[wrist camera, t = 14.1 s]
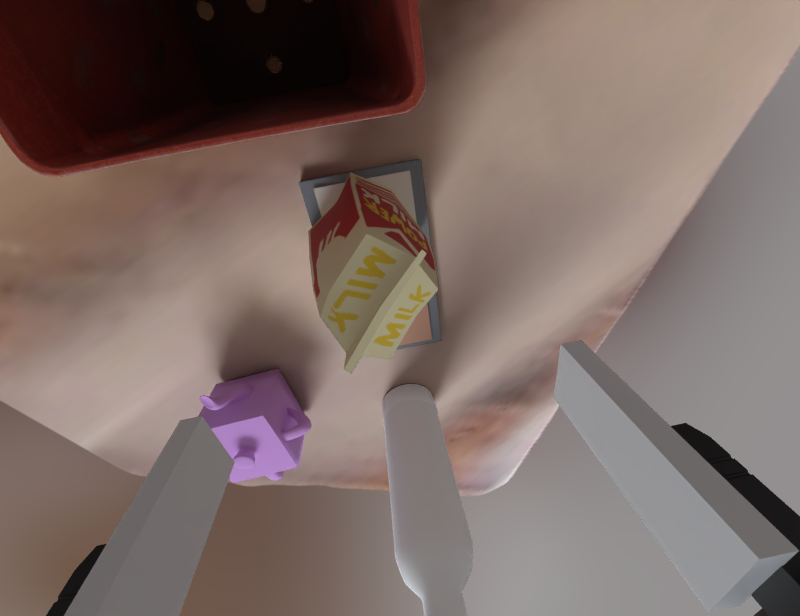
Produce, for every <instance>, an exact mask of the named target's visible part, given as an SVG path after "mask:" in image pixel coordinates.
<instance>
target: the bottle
mask: <svg viewBox="0 0 800 616" xmlns="http://www.w3.org/2000/svg"><path fill="white" fill-rule="evenodd" d="M383 424H384V429H385V441H386V453H387V465H388V477H389V489H390V501H391V511H392V512H391V513H392V525H393V536H394V548H395V559H396V562H397V564H398V567H399V570H400V573H401V575H402V578H403V580H404V582H405V584H406V585H407V586H408V587H409V588H410V589H411V590H412V591H413V592H414V593H415V594H416V595H417V596H419V597H420V598H421V599H422V602H423V610H424V616H467V613H466V608H465V604H464V599H463V595H462V591H463V589H464V587H465V584H466V582H467V580H468V578H469V576H470V574H471V571H472V557H473V555H472V554H473V549H472V539H471V535H470V531H469V528H468V524H467V520H466V517H465V513H464V509H463V506H462V502H461V498H460V495H459V491H458V487H457V484H456V480H455V476H454V473H453V469H452V465H451V462H450V458H449V454H448V451H447V447H446V443H445V440H444V436H443V432H442V429H441V425H440V421H439V418H438V411H437V407H436V404H435V402H434V399H433V396H432V394H431V392H430V391H429V390H428V389H427V388H426V387H423V386H421V385H418V384H405V385H400V386H398V387H396V388H394V389H392V390H391V391H389V392H388V393H387V394H386V395H385V398H384V400H383Z"/></svg>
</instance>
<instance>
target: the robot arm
mask: <svg viewBox="0 0 800 616" xmlns="http://www.w3.org/2000/svg"><path fill="white" fill-rule="evenodd" d="M554 398H555V400H556V401H557V403H558V404H559V405H560V407H561V408H562V409H563V411H564V412H565V414H566V415H567V417H568V418H569V419H570V421H571V422H572V424H573V425H574V426H575V428H576V429H577V430H578V432H579V433H580V435H581V436H582V437H583V439H584V440H585V441H586V443H587V444H588V446H589V447H590V448H591V450H592V451H593V453H594V454H595V455H596V457H597V458H598V460H599V461H600V462H601V464H602V465H603V467H604V468H605V469H606V471H607V472H608V474H609V475H610V476H611V478H612V479H613V480H614V482H615V483H616V485H617V486H618V488H619V489H620V490H621V491H622V493H623V494H624V496H625V497H626V499H627V500H628V501H629V503H630V504H631V505H632V507H633V508H634V510H635V511H636V513H637V514H638V515H639V517H640V518H641V520H642V521H643V522H644V524H645V525H646V527H647V528H648V529H649V531H650V532H651V534H652V535H653V536H654V537H655V539H656V540H657V542H658V543H659V545H660V546H661V547H662V549H663V550H664V552H665V553H666V554H667V556H668V557H669V558H670V560H671V561H672V563H673V564H674V565H675V567H676V568H677V570H678V571H679V572H680V574H681V575H682V577H683V578H684V579H685V581H686V582H687V584H688V585H689V586H690V588H691V589H692V591H693V592H694V593H695V595H696V596H697V597H698V599H699V600H700V602H701V603H702V604H703V606H704V607H705V609H706V610H707V611H708V612H713V611H718V610H723V609H727V608H731V607H736V606H741V605H742V604H743V603H744V602H745V601H746V600H747V599H748V598H749V597H750V596H751V595H752V596H753V597H754V599H755V600H756V601H757V602H758V603H759V605H760V606H761V607H762V609H761V610H760V611H759V612H757V613H756V614H755V615H754V616H800V516H799V515H797V514H796V513H795V512H794V511H793V510H792V509H791V508H790V507H788V506H787V505H786V504H785V503H784V502H783V501H782V500H781V499H779V498H778V497H777V496H776V495H775V494H774V493H773V492H772V491H770V490H769V489H768V488H767V487H766V486H765V485H764V484H762V483H761V482H760V481H759V480H758V479H757V478H756V477H755V476H754V475H750V474H749V473H748V470H747V469H746V468H744V467H743V466H742V465H741V464H740V463H739V462H738V461H736V460H735V459H732V458H731V456H730V454H729V453H728V452H726V451H725V450H724V449H723V448H722V447H720V445H719V444H717V443H716V442H715V441H714V440H713V439H712V438H711V437H709V436H708V435H706V434H704V433H702V432H701V431H699V430H697V429H695V428H694V427H692V426H690V425H688V424H687V423H683V424H679V425H674V426H670V425H669V424H668V423H667V422H665V421H664V420H663V419H662V418H661V417H660V416H659V415H658V414H657V413H656V412H655V411H654V410H653V409H652V408H651V407H650V406H649V405H648V404H647V403H646V402H645V401H644V400H643V399H642V398H641V397H639V395H638V394H636V393H635V392H634V391H633V390H632V389H631V388H630V387H629V386H628V385H627V384H626V383H625V382H624V381H623V380H622V379H621V378H620V377H619V376H618V375H617V374H616V373H615V372H614V371H613V370H612V369H610V368H609V367H608V366H607V365H606V364H605V363H604V362H603V361H602V360H601V359H600V358H599V357H598V356H597V355H596V354H595V353H594V352H593V351H592V350H591V349H590V348H589V347H588V346H587V345H586V344H585V343H584V342H583V341H582V340H579V341H574V342H569V343H564V344H561V346H560V354H559V361H558V369H557V377H556V384H555V392H554ZM234 463H235V462H234V461H233V459H232V458H231V456H230V455H229V454H228V452H227V451H226V449H225V448H224V447H223V445H222V444H221V442H220V441H219V439H218V438H217V437H216V435H215V434H214V432H213V431H212V430H211V428H210V427H209V425H208V424H207V422H206V421H205V420H204V418H203V417H202V416H200V417H195V418H190V419H185V420H180V422H179V424H178V425H177V427H176V429H175V430H174V432H173V434H172V435H171V437H170V439H169V441H168V442H167V444H166V446H165V447H164V449H163V451H162V452H161V454H160V456H159V457H158V459H157V461H156V462H155V464H154V466H153V467H152V469H151V471H150V472H149V474H148V476H147V477H146V479H145V481H144V482H143V484H142V486H141V488H140V489H139V491H138V493H137V494H136V496H135V497H134V499H133V501H132V502H131V504H130V506H129V508H128V509H127V511H126V513H125V514H124V516H123V518H122V519H121V521H120V523H119V524H118V526H117V528H116V529H115V531H114V533H113V534H112V536H111V538H110V539H109V541H108V543H107V544H104V545H99V546H96V547H95V548H94V550H93V551H92V552H91V553H90V554H89V555H88V556H87V557H86V559H85V560H84V561H83V562H82V563H81V564H80V565H79V566H78V567H77V569H76V570H75V571H74V573H73V574H72V576H71V577H70V579H69V580H68V582H67V584H66V585H65V587H64V588H63V590H62V591H61V593H60V595H59V596H58V601H57V602H55V603H54V604H53V606H52V607H51V609H50V610H49V612H48V614H47V615H46V616H179V614H180V611H181V609H182V606H183V603H184V601H185V598H186V595H187V592H188V590H189V587H190V584H191V581H192V579H193V576H194V573H195V570H196V568H197V565H198V562H199V559H200V557H201V554H202V551H203V548H204V546H205V543H206V540H207V537H208V534H209V532H210V529H211V526H212V524H213V521H214V518H215V515H216V512H217V510H218V507H219V504H220V501H221V499H222V496H223V493H224V490H225V488H226V485H227V482H228V479H229V477H230V474H231V471H232V468H233V466H234Z"/></svg>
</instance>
